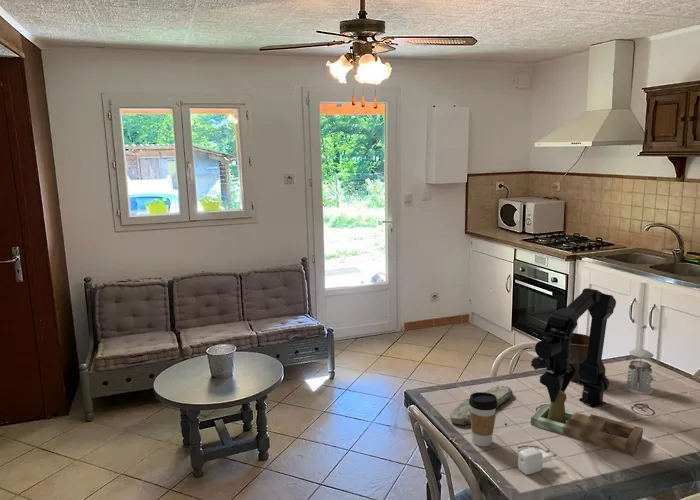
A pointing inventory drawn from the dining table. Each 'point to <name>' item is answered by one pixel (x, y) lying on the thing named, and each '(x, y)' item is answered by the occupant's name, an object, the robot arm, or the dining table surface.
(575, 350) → the plant pot
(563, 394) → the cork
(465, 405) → the elongated rock
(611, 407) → the dining table surface
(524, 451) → the power adapter
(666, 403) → the dining table surface
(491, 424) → the coffee cup
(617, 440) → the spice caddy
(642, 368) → the french press
